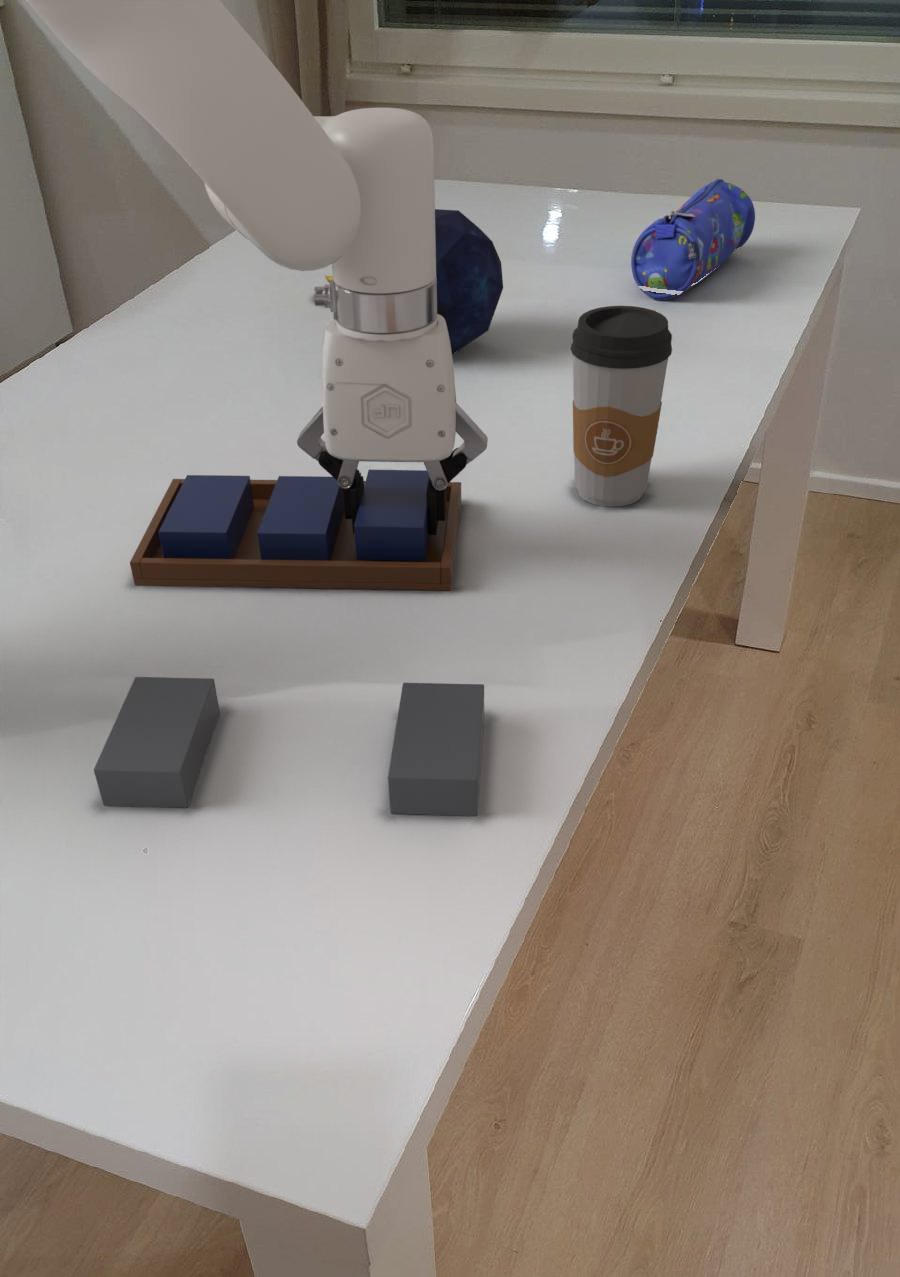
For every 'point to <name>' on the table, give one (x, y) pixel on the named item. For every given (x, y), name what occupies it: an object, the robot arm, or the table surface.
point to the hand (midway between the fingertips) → (396, 524)
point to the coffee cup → (617, 400)
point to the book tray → (298, 573)
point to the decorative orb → (465, 277)
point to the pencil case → (692, 239)
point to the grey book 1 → (158, 742)
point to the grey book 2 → (437, 750)
